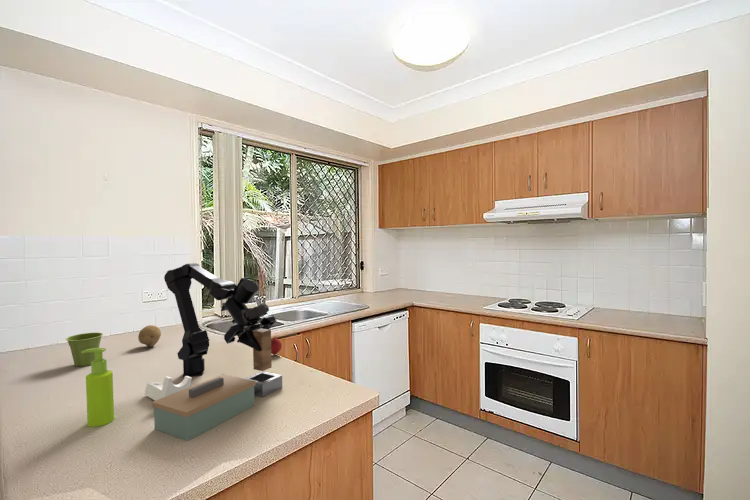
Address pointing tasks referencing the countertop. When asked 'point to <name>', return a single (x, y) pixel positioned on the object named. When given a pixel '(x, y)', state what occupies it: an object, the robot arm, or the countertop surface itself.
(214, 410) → the toolbox
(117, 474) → the countertop surface
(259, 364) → the walnut key
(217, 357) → the countertop surface
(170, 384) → the bracket
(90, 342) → the plant pot
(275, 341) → the onion
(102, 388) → the soap dispenser
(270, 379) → the grey shallow box
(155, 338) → the potato
